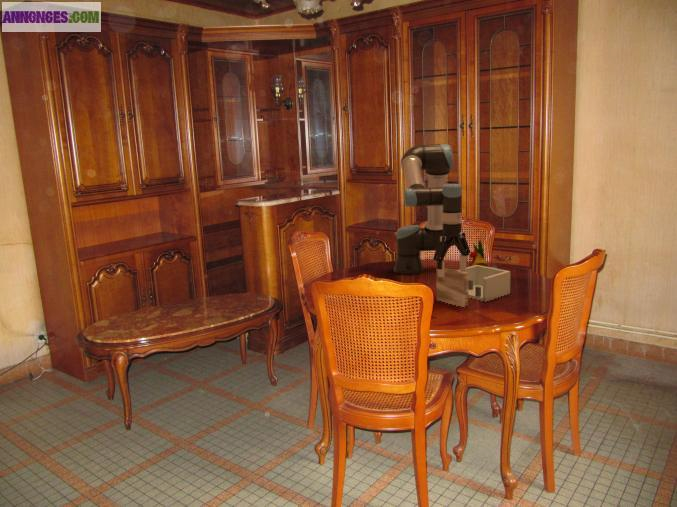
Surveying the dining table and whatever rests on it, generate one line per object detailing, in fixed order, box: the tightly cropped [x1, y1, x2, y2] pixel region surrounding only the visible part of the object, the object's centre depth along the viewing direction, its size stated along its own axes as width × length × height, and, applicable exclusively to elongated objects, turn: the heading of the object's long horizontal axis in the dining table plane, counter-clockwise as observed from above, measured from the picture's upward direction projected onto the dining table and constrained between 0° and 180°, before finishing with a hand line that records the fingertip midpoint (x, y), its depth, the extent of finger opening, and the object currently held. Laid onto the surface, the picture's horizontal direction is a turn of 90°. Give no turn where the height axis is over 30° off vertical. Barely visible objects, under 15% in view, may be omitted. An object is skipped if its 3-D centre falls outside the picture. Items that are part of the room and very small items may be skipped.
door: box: [435, 267, 469, 308], centre depth 238 cm, size 5×14×14 cm, turn 39°
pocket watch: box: [490, 260, 499, 269], centre depth 268 cm, size 8×8×10 cm
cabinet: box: [457, 265, 511, 303], centre depth 250 cm, size 17×18×10 cm
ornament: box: [468, 239, 489, 267], centre depth 292 cm, size 21×8×15 cm, turn 0°
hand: (452, 274), depth 237 cm, fingers open, 13 cm apart
